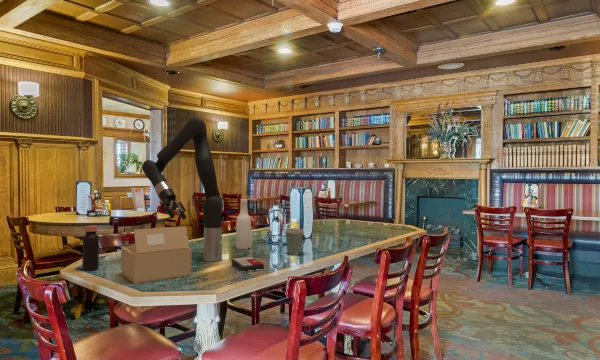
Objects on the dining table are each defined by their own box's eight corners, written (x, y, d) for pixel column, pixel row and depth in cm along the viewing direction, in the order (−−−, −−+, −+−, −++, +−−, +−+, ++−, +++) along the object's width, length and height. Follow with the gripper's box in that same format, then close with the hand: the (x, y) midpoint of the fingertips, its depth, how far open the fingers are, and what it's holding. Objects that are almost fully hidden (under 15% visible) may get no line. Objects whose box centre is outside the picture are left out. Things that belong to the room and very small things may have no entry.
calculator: (242, 265, 187) (231, 257, 200) (242, 274, 187) (231, 266, 200) (264, 263, 192) (252, 255, 205) (264, 272, 192) (252, 264, 206)
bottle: (90, 271, 184) (90, 227, 183) (78, 270, 186) (79, 226, 186) (102, 268, 190) (102, 225, 190) (91, 267, 192) (91, 225, 192)
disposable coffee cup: (292, 251, 239) (292, 226, 238) (306, 254, 232) (307, 228, 232) (280, 254, 230) (281, 228, 230) (296, 257, 224) (296, 229, 224)
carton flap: (185, 226, 183) (186, 226, 182) (188, 248, 179) (189, 247, 179) (133, 230, 169) (134, 229, 169) (136, 253, 166) (136, 252, 165)
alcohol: (250, 249, 243) (251, 199, 242) (236, 249, 241) (236, 199, 241) (250, 247, 252) (251, 198, 251) (235, 247, 250) (236, 198, 250)
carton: (175, 266, 196) (175, 241, 196) (191, 275, 180) (192, 248, 180) (120, 273, 181) (120, 246, 181) (133, 283, 165) (133, 254, 165)
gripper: (160, 185, 195) (174, 211, 189) (179, 190, 208) (193, 214, 202) (149, 195, 197) (163, 221, 190) (169, 199, 209) (183, 223, 203)
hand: (179, 218), depth 196 cm, fingers open, 8 cm apart
